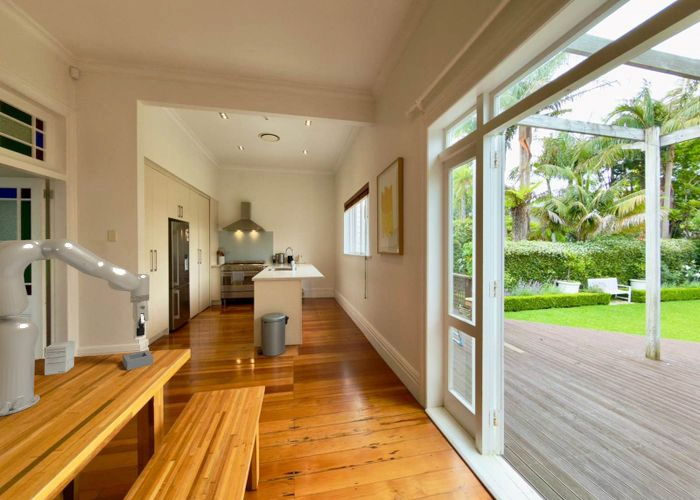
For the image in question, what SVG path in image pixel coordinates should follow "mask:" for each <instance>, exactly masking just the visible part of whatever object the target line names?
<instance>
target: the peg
mask: <svg viewBox="0 0 700 500" xmlns="http://www.w3.org/2000/svg"><path fill="white" fill-rule="evenodd" d="M144 320H145V319H144ZM140 321H141V320H139V322H140ZM146 323H147V321H146V320H145V333H146V329H147V328H146V326H147V325H146ZM139 324H140V323H139ZM136 331H137V322H136V321H134V320H133V339H134V340H135V341H136V340H141V339H146V334H145V335H142V336H136Z"/></svg>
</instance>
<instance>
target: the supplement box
mask: <svg viewBox="0 0 700 500" xmlns="http://www.w3.org/2000/svg"><path fill="white" fill-rule="evenodd" d="M44 352H45V353H44V376H50V375H58V374H59V375H60V374H65V373H67V372H68V371H70V370H71V369H72V368H74V367H75V341H74V340H69V341H59V342H54V343H52V344H50V345H48V346H45V347H44Z"/></svg>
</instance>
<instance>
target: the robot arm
mask: <svg viewBox="0 0 700 500" xmlns="http://www.w3.org/2000/svg"><path fill="white" fill-rule="evenodd" d="M48 260H58V261H60V262H63V264H65V265H68V266H70V267H71V268H74V269H75V270H76V271H79V272H80V273H82V274H84V275H88V276H90V277H93V278H97V279H102V280H104V281H107V285H108V287H109V288H110V289H111V290H113V291H114V290H115V291H119V292H120V291H121V292H129V295H130V299H129V301H130V302H129V303H132V320H133V322H134V321H136V322H137V331H136V336H142V335H145V336H146V332H145V320H146V322H148V321H149V304H148V302H149V301H150V275H149V274H147V273H135V274H134V273H133V272H131V271H129V270H127V269H126V268H123V267H122V266H121V265H120V266H119V265H117V264H115V263H113V262H111V261H109V260H106V259H104V258H102V257H101V256H99V255H97V254H95V253H93V252H92V251H91V250H89V249H87V248H85V247H84V246H82V245H81V244H79V243H77V242H76V241H74V240H71V239H69V238H50V239H49V238H48V239H25V240H24V239H23V240H22V239H19V240H17V239H14V240H5V241H1V242H0V417H4V416H9V415H11V414H14V413H15V414H16V413H18V412H21V411H24V410H26V409H28V408H30V407H33V406H34V405H36V404H38V402H39V401H41V400H40V395H38V394H34V393H35V392H34V390H35V370H36V369H35V365H36V364H35V363H36V347H37V346H36V345H37V342H38V338H39V333H40V332H39V326H38V325H37V323H35V322H34V321H32V320H30V319H27V318H23V317H21V314H22V313H24V312H25V311H26V310H27V308H28V307H29V296H28V292H27V289H26V284H25V277H24V275H25V274H24V273H25V270H26V269H27V267H29V265H30V264H31V263H33V262H36V261H37V262H38V261H48ZM144 319H145V320H144ZM139 320H141V321H140V322H139ZM139 323H140V324H139Z"/></svg>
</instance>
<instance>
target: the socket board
mask: <svg viewBox="0 0 700 500" xmlns="http://www.w3.org/2000/svg"><path fill="white" fill-rule="evenodd" d="M121 363H122V365H123V366H124V368H125V370H127V371H130V370H134V369H135V370H136V369H138V368H139V369H140V368H143V367H146V366H150V365H154V355H153V354H152V353H151V352H150V351H149V350H148V349H146V350H141V351H137V352H131V353H128V354H122V361H121Z"/></svg>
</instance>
